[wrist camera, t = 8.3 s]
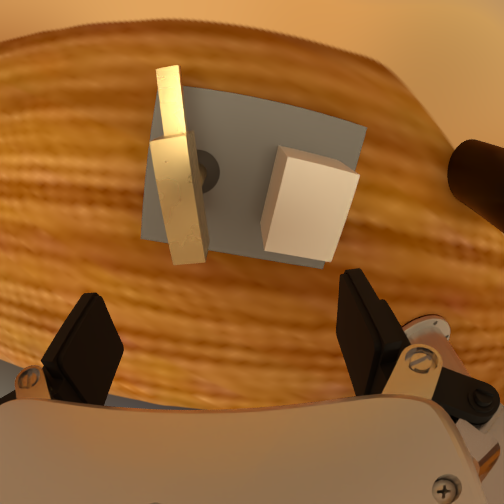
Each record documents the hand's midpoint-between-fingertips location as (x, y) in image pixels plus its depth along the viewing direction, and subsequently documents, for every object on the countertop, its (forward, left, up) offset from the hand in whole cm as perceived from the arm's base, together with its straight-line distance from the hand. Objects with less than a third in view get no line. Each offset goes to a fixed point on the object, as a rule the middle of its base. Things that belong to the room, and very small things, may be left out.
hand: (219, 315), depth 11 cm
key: (+3, +4, -19) cm, 20 cm away
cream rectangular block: (0, -7, -20) cm, 21 cm away
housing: (0, -2, -22) cm, 22 cm away
